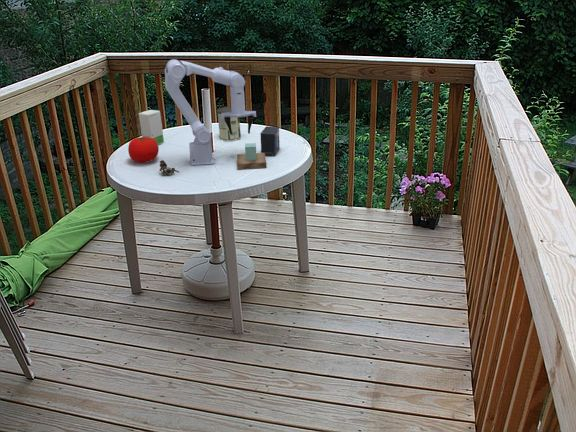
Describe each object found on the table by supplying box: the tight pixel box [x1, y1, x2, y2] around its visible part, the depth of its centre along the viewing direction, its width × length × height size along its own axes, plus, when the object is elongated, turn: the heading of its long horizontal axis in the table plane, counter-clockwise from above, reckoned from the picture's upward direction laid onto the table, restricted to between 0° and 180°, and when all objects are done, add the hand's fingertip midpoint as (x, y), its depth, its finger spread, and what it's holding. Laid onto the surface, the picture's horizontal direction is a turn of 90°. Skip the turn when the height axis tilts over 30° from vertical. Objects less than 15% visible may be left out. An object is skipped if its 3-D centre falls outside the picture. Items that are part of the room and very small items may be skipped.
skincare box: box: [138, 109, 165, 146], centre depth 265 cm, size 8×7×16 cm
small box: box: [259, 125, 281, 157], centre depth 251 cm, size 11×6×10 cm, turn 168°
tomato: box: [127, 136, 160, 164], centre depth 246 cm, size 14×13×10 cm
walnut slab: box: [236, 152, 267, 171], centre depth 240 cm, size 12×12×2 cm
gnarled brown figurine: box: [159, 159, 180, 177], centre depth 233 cm, size 12×6×11 cm
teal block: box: [244, 142, 257, 161], centre depth 238 cm, size 4×4×6 cm
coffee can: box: [216, 106, 242, 142], centre depth 270 cm, size 10×10×14 cm
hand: (240, 133), depth 245 cm, fingers open, 7 cm apart
